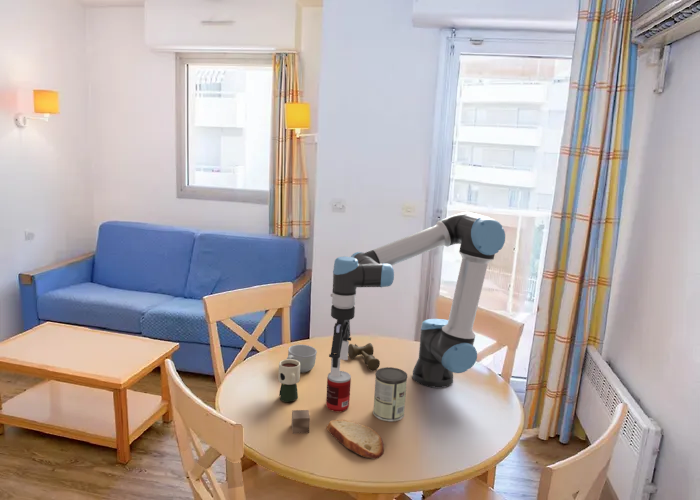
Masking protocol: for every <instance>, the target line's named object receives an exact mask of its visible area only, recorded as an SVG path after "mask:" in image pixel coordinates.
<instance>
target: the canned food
mask: <svg viewBox="0 0 700 500" xmlns="http://www.w3.org/2000/svg"><path fill="white" fill-rule="evenodd" d="M326 378H327V380H326V399H325V403H326V404H325V406H326V407H327V409H328V410H330V411H331V412H336V413H337V412H338V413H339V412H344V411H346V410H347V409H349V406H350V398H351V397H350V396H351V385H352V384H351V382H352V379H351V378H352V376H351V374H350V373H349V372H347V371H344V370H340V374H339V377H335V376H331V371H330V372H329V373H328V374H327V377H326Z"/></svg>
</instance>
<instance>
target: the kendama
mask: <svg viewBox="0 0 700 500" xmlns="http://www.w3.org/2000/svg"><path fill="white" fill-rule="evenodd" d="M374 352H375V351H374V345H373V344H372V343H371V342H368V343H367V344H365V345H363V346H359V345H358V344H357V343H355V344H353V343H349V346H348V358H349V359H350V360H353V359H355V358H356V357H357V356H361V355H362V356H363V363H364V364H365V365H366V366H367V369H368V370H369V371H377V370H378V369H379V368H380V364H381V361H380V360H379V359H378V358H375V355H374Z"/></svg>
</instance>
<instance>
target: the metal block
mask: <svg viewBox="0 0 700 500" xmlns="http://www.w3.org/2000/svg"><path fill="white" fill-rule="evenodd" d="M310 417H311V416H310V411H309V409H293V410H291V431H292V434H310V429H311V428H310V424H311V423H310V422H311V418H310Z"/></svg>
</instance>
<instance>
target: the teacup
mask: <svg viewBox="0 0 700 500" xmlns="http://www.w3.org/2000/svg"><path fill="white" fill-rule="evenodd" d="M287 349H288V352H287V353H288V354H287V357H286V359H293V360H297V361H299V362H300V373H306V372H309V371H310V370H312V369H314V367H315V364H316V359H317V353H318V352H317V349H316V348H315V347H313V346H310V345H308V344H294V345H290V346H289V347H288V348H287Z"/></svg>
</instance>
